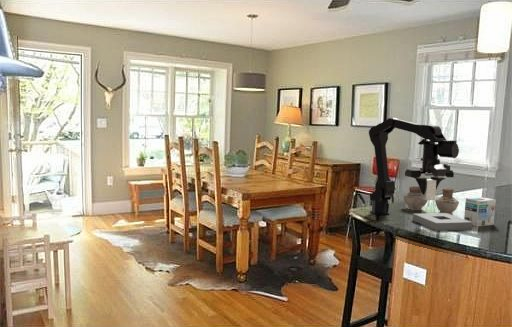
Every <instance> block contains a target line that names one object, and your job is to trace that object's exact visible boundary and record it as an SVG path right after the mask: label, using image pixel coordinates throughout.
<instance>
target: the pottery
mask: <svg viewBox="0 0 512 327" xmlns="http://www.w3.org/2000/svg"><path fill="white" fill-rule="evenodd" d="M408 190H409V191H408V192H407V193H405V194H403V196H402V197H403V198H402V199H403V201H404V203H405V205H407V208H409V209H408V210H410V209H411V210H410V211H415V210H420V211H422V208H424V207H425V205H427V203H428V201H429V200H424V199H421V190H420V187H419V186H414V185H413V186H411V185H410V186H409V188H408ZM441 190H442V195H441V196H439V197H438V198H435V200H434V201H435V205H436V208H437V209H438V210H439V212H438V213H448V214H451V215H454V212H455V211H456V210H457V209H458V207H459V203H460V202H459V200H458V199H456V198H455V197H453V195H454V191H455V189H454V188H448V187H447V188H446V187H442V188H441Z"/></svg>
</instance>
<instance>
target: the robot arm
mask: <svg viewBox="0 0 512 327" xmlns="http://www.w3.org/2000/svg"><path fill="white" fill-rule="evenodd" d="M395 129H399V130H402V131H405V132H410V133H414V135H415V134H416V135H417V136H418V137H420V138H422V139H421V140H420V141H419V142H418V143H417V144H418V145H423V146H422V157H421V158H420V161H421V162H422V163H421V164H422V166H421V167H420V168H419V169H417V168H416V169H413V168H412V169H411V168H410V169H408V168H407V169H406V170H405V171H404V177H408V178H413V179H415V181H416V183H417V185H418V187H420V190H421V192H422V194H423V195H424V194H425V182H426V180H427V179H428V178H427V177H426V176H430V179H432V180H436V190H437V189H438V187H439V185H440V183H441V182H442V181H443V180H446V178H455V173H454V171H453V170H452V169H451V165H450V163H444V164H442V163H441V160H440V159H439V157H441V158H450V159H451V158H453V159H456V158H457V157H458V155H459V152H460V148H459V145H458V142H457V140H456V139H455V140H452V139H451V140H447V138H446V137H445V135H444V134H443V133H442V129H441V127H440V126H439V125H435V124H432V125H431V124H420V123H416V122H413V121H412V122H411V121H407V120H404V119H400V118H397V117H389V118H387V119H386V120H384V121H382V122H379V123H378V124H376V125H374V126H372V127H371V128H369V131H368V136H369V140H370V142H371V144H372V145H373V147H374V155H375V156H374V157H375V158H374V159H375V165H376V176H377V179H376V182H375V185H374V191H373V192H371V193H370V195H369V199H370V201H372V202H371V210H369V213H372V214H374V215H376V216H382V215H383V216H384V215H385V216H386V215H388V216H389V215H390V213H389V210H390V204H389V201H391V198H392V196H393V195H394V194H395V191H396V187H395V184H396V182H395V180H391V178H390V174H389V167H388V166H389V165H388V158H387V157H388V156H387V146H386V145H387V142H388V140H389V134H390V133H392V132H393V131H394V130H395ZM445 177H446V178H445Z"/></svg>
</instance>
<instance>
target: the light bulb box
mask: <svg viewBox="0 0 512 327" xmlns="http://www.w3.org/2000/svg"><path fill="white" fill-rule="evenodd" d="M496 203H497V199H495V198H494V199H493V198H488V197H485V196H478V197H466V198H465V202H464V204H465V205H464V213H463V214H464V216H463V219H465V220H468V221H470V222H472V227H485V226H493V225H494V224H495V223H494V222H495V212H496Z"/></svg>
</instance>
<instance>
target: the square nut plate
mask: <svg viewBox="0 0 512 327" xmlns="http://www.w3.org/2000/svg"><path fill="white" fill-rule="evenodd" d="M412 222H415V223H417V222H418V223H417V224H419V223H420V225H422V226H424V227H426V226H427V228H428V227H429V229H431V230H432V231H433V230H434V231H464V230H465V231H470V230H473V225H472V222H470V221H468V220H465V219H464V218H462V217H458V216H456V215H454V214H453V215H451V214H448V213H439V212H436V213H435V212H433V213H432V212H431V213H428V212H427V213H413V214H412Z"/></svg>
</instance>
